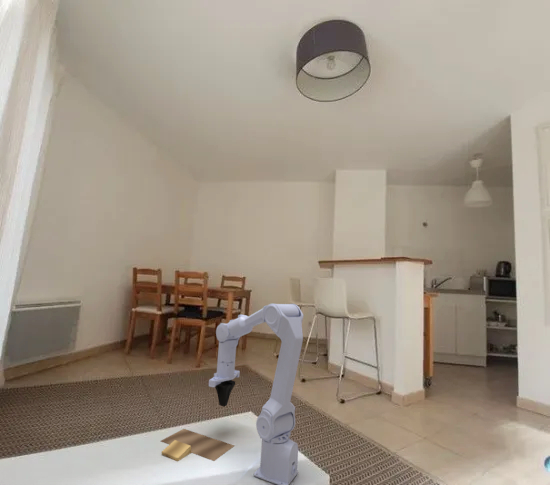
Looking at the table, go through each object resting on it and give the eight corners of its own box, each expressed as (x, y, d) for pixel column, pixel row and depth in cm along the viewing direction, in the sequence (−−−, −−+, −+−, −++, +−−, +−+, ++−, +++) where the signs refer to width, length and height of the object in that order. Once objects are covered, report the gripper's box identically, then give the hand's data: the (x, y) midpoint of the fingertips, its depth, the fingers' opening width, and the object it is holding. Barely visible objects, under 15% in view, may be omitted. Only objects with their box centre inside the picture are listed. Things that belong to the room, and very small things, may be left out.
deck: (234, 451, 92) (234, 445, 92) (213, 467, 83) (214, 461, 84) (183, 433, 101) (183, 428, 101) (159, 446, 92) (160, 441, 93)
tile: (191, 452, 87) (190, 445, 87) (178, 465, 83) (177, 458, 83) (175, 446, 90) (174, 439, 90) (162, 458, 85) (161, 451, 85)
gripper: (228, 355, 110) (225, 396, 108) (202, 363, 97) (198, 409, 95) (245, 358, 107) (243, 400, 105) (220, 366, 94) (217, 414, 92)
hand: (223, 405), depth 100 cm, fingers closed
